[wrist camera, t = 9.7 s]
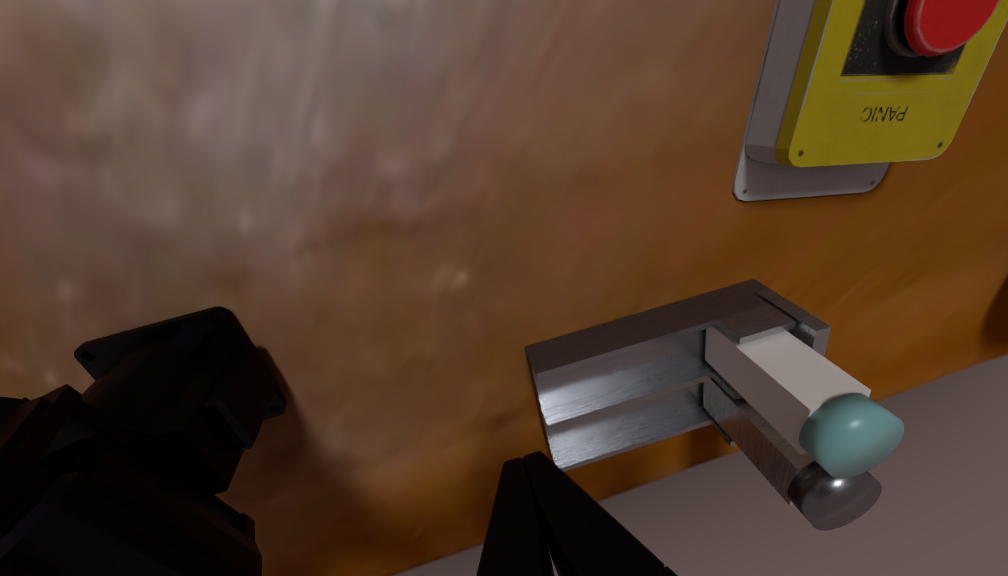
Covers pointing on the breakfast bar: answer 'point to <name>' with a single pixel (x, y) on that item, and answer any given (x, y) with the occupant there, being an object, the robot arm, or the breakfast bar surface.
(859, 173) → the emergency button
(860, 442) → the plunger
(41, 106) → the breakfast bar surface
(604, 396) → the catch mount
